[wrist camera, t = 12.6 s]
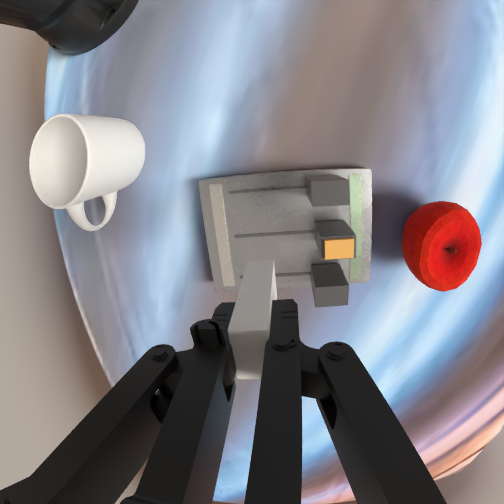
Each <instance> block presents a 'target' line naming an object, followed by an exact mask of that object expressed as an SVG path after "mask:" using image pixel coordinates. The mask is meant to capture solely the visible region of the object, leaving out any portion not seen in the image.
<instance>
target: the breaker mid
mask: <svg viewBox="0 0 504 504" xmlns="http://www.w3.org/2000/svg"><path fill="white" fill-rule="evenodd" d="M315 242H316V245H317V248H318V252H319V255H320V258H321V260H334V259H350V258H356V234H355V233H354V232H353V230H352V229H351V228H350V227H349V225H348V224H347V223H346V222H345V221H344V220H343V221H324V222H315Z"/></svg>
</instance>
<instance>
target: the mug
mask: <svg viewBox="0 0 504 504" xmlns="http://www.w3.org/2000/svg"><path fill="white" fill-rule="evenodd" d="M144 160H145V144H144V140H143V137H142V135H141V133H140V131H139V130H138V128H137V127H136V126H135V125H133V124H132V123H130V122H129V121H126V120H123V119H119V118H111V117H101V116H90V115H76V114H58V115H55V116H53V117H51V118H49V119H48V120H47V121H46V122H44V124H43V125H42V126H41V127H40V129H39V130H38V132H37V133H36V135H35V138H34V140H33V143H32V146H31V151H30V158H29V171H30V177H31V182H32V185H33V188H34V190H35V192H36V194H37V196H38V197H39V198H40V200H41V201H42V202H43V203H44V204H46V205H47V206H49V207H51V208H54V209H64V208H66V210H67V211H68V213H69V215H70V216H71V218H72V219H73V221H74V222H75V223H76V224H77V225H78V226H79V227H81V228H82V229H84V230H87V231H95V230H98V229H100V228H102V227H103V226H104V225H105V224H106V223H107V222H108V221H109V220H110V218H111V216H112V214H113V212H114V209H115V205H116V199H117V191H118V190H121V189H123V188H125V187H127V186H128V185H130V184H131V183H132V182H133V181H134V180H135V179H136V178H137V177H138V175H139V174H140V172H141V170H142V167H143V164H144ZM99 196H102V198H103V200H104V203H105V208H106V212H105V217H104V220H103V222H102V223H101V224H99V225H97V226H94V225H92V224H90V223H89V221H88V220H87V218H86V215H85V212H84V201H87V200H90V199H93V198H96V197H99Z"/></svg>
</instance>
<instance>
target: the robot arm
mask: <svg viewBox="0 0 504 504" xmlns="http://www.w3.org/2000/svg"><path fill="white" fill-rule="evenodd" d="M137 2H138V0H0V24H6V25H11V26H16V27H20V28H25V29H29V30H33V31H35V32H36V33H37V34H39V35H40V36H41V37H42V38H43V39H44V40H46V41H47V42H48V43H49V45H50V46H51V47H52V48H53V49H55V50H57V51H59V52H63V53H66V54H71V55H76V54H81V53H84V52H87V51H89V50H91V49H93V48H95V47H97V46H98V45H100V44H101V43H103V42H104V41H105V40H107V39H108V38H109V37H110V36H111V35H113V34H114V33H115V32H116V31H117V30H118V29H119V28H120V27H121V26H122V24H123V23H124V22H125V21H126V20H127V18H128V17H129V16H130V14H131V13H132V11H133V10H134V8H135V6H136V4H137ZM190 331H191V335H192V338H193V342H194V347H193V348H192V349H190V350H186V351H180V352H175V349H174V348H173V347H172V346H170V345H165V344H162V345H157V346H154V347H152V348H151V349H149V350H148V351H147V352H146V353H145V354H144V355H143V356H142V357H141V358H140V359H139V360H138V361H137V362H136V363H135V365H134V366H133V367H132V368H131V369H130V370H129V371H128V372H127V373H126V374H125V375H124V376H123V377H122V378H121V379H120V380H119V381H118V383H117V384H116V385H115V386H114V387H113V388H112V389H111V390H110V391H109V392H108V393H107V394H106V395H105V396H104V397H103V398H102V400H101V401H100V402H99V403H98V404H97V405H96V406H95V407H94V408H93V409H92V410H91V411H90V412H89V414H87V416H86V417H85V418H84V419H83V420H82V421H81V422H80V423H79V424H78V425H77V426H76V427H75V429H73V430H72V432H71V433H70V434H69V435H68V436H67V437H66V438H65V439H64V440H63V441H62V442H61V443H60V445H59V446H58V447H57V448H56V449H55V450H54V451H53V452H52V453H51V454H50V455H49V457H47V459H46V460H45V461H44V462H43V463H42V464H41V465H40V466H39V467H38V468H37V469H36V471H35V472H34V473H33V474H32V475H31V476H30V477H28V478H25V479H24V480H22V481H19V482H17V483H15V484H13V485H11V486H9V487H6V488H4V489H2V490H0V504H114V503H115V502H116V501H117V500H118V498H119V497H120V495H121V494H122V493H123V492H124V490H125V489H126V488H127V486H128V485H129V484H130V482H131V481H132V480H133V478H134V477H135V476H136V474H137V473H138V471H139V470H140V469H141V467H142V466H143V465H144V463H145V462H146V460H147V459H148V458H149V459H148V462H147V464H146V467H145V469H144V472H143V475H142V477H141V480H140V483H139V485H138V488H137V490H136V492H135V494H134V495H133V496H130V497H127V498H125V499H123V500H122V501H121V503H120V504H212V500H213V495H214V491H215V486H216V481H217V477H218V472H219V467H220V462H221V458H222V453H223V448H224V443H225V438H226V434H227V429H228V424H229V419H230V414H231V409H232V404H233V399H234V394H235V389H236V385H235V380H234V378H235V373H236V374H237V379H261V386H260V394H259V402H258V410H257V418H256V425H255V433H254V441H253V448H252V455H251V462H250V469H249V476H248V483H247V490H246V496H245V503H244V504H301V486H302V396H305V397H310V398H315V399H316V402H317V404H318V407H319V409H320V411H321V414H322V416H323V419H324V421H325V424H326V426H327V429H328V431H329V434H330V436H331V439H332V441H333V444H334V446H335V449H336V451H337V454H338V456H339V459H340V461H341V464H342V466H343V469H344V471H345V474H346V476H347V479H348V481H349V484H350V486H351V489H352V491H353V494H354V496H355V499H356V501H357V504H447V503H446V502H445V500H444V498H443V496H442V494H441V493H440V491H439V489H438V487H437V485H436V484H435V482H434V480H433V478H432V476H431V475H430V473H429V471H428V470H427V468H426V466H425V464H424V463H423V461H422V459H421V457H420V456H419V454H418V452H417V451H416V449H415V447H414V446H413V444H412V442H411V441H410V439H409V437H408V436H407V434H406V432H405V431H404V429H403V427H402V426H401V424H400V422H399V421H398V419H397V418H396V416H395V414H394V413H393V411H392V409H391V408H390V406H389V405H388V403H387V401H386V400H385V398H384V397H383V395H382V393H381V392H380V390H379V389H378V387H377V386H376V384H375V382H374V381H373V379H372V378H371V376H370V375H369V373H368V371H367V370H366V368H365V367H364V365H363V364H362V362H361V361H360V359H359V358H358V356H357V354H356V353H355V351H354V350H353V348H352V347H350V346H349V345H348V344H346V343H343V342H330V343H327V344H325V345H323V346H322V347H321V348H320V349H314V348H310V347H308V346H306V345H304V344H303V343H302V342H301V341H300V338H299V324H298V307H297V304H296V302H295V301H294V300H293V299H285V300H277V291H276V279H275V267H274V259H272V260H256V261H248V263H247V266H246V269H245V273H244V276H243V280H242V283H241V286H240V290H239V293H238V297H237V300H236V302H227V303H221V304H220V305H219V306H218V307H217V308H216V309H215V311H214V314H213V316H212V319H206V320H201V321H198V322H196V323H195V324H193V325H192V326H191V328H190ZM158 389H159V390H158ZM157 390H158V391H157ZM156 391H157V392H156Z"/></svg>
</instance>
